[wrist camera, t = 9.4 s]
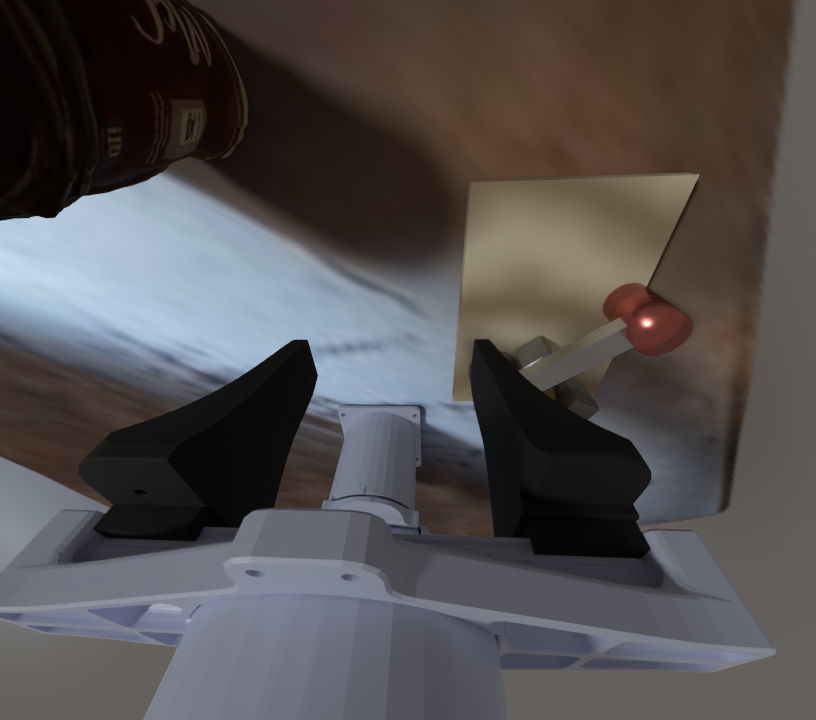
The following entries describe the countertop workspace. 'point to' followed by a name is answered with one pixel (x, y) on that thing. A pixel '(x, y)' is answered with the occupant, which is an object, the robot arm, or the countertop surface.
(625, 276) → the cracker base
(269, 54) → the countertop surface
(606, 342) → the lever
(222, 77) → the coffee cup
